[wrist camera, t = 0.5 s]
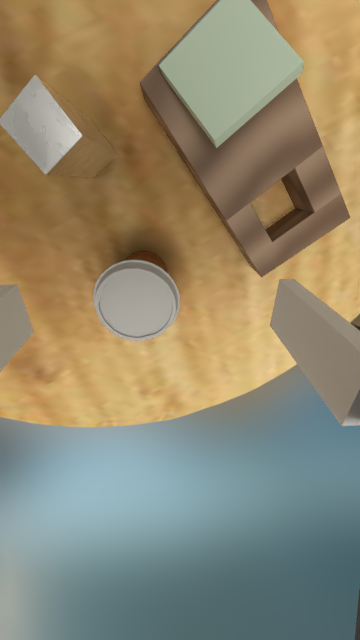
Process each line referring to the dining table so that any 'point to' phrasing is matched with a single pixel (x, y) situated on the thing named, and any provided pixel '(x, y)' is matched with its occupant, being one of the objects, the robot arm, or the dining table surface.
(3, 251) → the dining table surface
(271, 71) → the plate
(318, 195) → the walnut block
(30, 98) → the steel pin
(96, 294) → the disposable coffee cup
